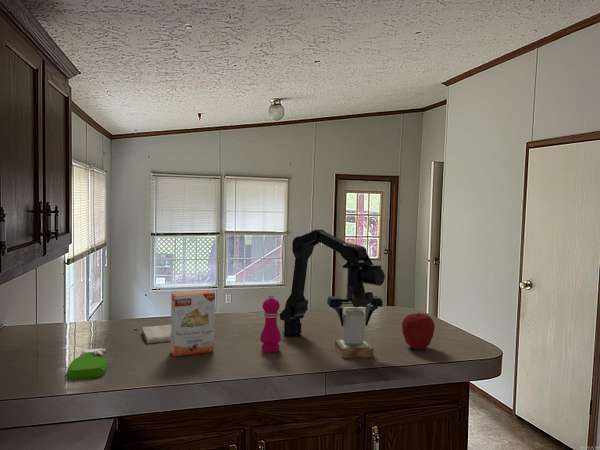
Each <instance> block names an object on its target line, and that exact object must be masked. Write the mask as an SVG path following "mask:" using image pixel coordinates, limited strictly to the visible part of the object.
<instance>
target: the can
mask: <svg viewBox="0 0 600 450" xmlns="http://www.w3.org/2000/svg"><path fill="white" fill-rule="evenodd" d="M344 310H345V311H344V312H343V326H342V340H343V341H344V342H345V343H346V344H349V345H360V344H362V343H363V342H364V339H365V327H366V325H365V313H364V311H363V309H362V308H361V307H347V308H345V309H344Z"/></svg>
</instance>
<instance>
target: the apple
mask: <svg viewBox="0 0 600 450" xmlns="http://www.w3.org/2000/svg"><path fill="white" fill-rule="evenodd" d="M401 328H402V330H401V331H402V335H403V338H404V340H405V343H406V344H407V345H408V346H409V347H411V348H412V349H415V350H419V351H420V350H425V349H426V348H427V347H428V346H430V344H431V342H432V339H433V337H434V334H435V328H436V327H435V322H434V319H432V317H430V315H429V314H426V313H420V312H419V311H418V313H410V314H408V315H406V316H405V317H404V318H403V319H402V323H401Z"/></svg>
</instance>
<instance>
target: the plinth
mask: <svg viewBox="0 0 600 450" xmlns="http://www.w3.org/2000/svg"><path fill="white" fill-rule="evenodd" d="M334 350H336V352H337V353H338V354H339V355H340V357H341V358H342V359H344V358H345V359H347V358H348V359H349V358H350V359H351V358H354V359H355V358H374V347H373V346H372V345H371V344H370V343H369V342H368V341H367V340H366V339H365V338H364V342H363V343H362V344H360V345H349V344H346V343H345V342H344V341H343V339H335V340H334Z"/></svg>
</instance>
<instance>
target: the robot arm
mask: <svg viewBox="0 0 600 450" xmlns="http://www.w3.org/2000/svg"><path fill="white" fill-rule="evenodd" d="M319 244H322V245H324V246H325V247H328V248H330V249H331V250H333V251H334V252H335V251H336V252H338V253H339V254H340V256H341V258H342V259H344V260H345V261H346V262H345V264H343V265H342V269H347V276H346V277H347V280H346V281H347V282H346V298H341V297H340V296H338V295H337V296H333V295H332V296H328V297H327V301H326V303H327V305H328V307H330V308H332V309H334V310H335V312H336V314H337V316H338V320H339V323H340V326H341V327H343V313H344V312H343V311H344V308H343V307H342V305H352V307H353V308H365V309H364V310H365V313H364V314H365V327H367V326H368V324H369V322H370V320H371V317H372V314H373V313H374V311H376V310H378V309H379V308H382V307H384V306H383V305H384V304H383V303H384V300H383V299H382V298H381V297H379V296H377V295H374V294H373V292H372V291H367V292H366V291H365V285H364V284H367V285H372V286H378V287H380V286H382V285H383V284H384V282H385V272H384V270H383V269H382V265H379V264H378V265H377V264H376V265H375V264H373V261H372V259H371V258H370V256H369V254H368V251H367V249H366V247H365V246H363V245H359V244H356V243H349V242H347V241H344V240H342V239H341V238H338V237H337V236H334V235H332V234H330V233H329V232H327V231H325V230H324V229H313V230H311V231H310V232H308V233H305V234H303V235H300V236H296V237H294V238H293V240H292V248H291V249H292V251H291V252H292V254H293V256H294V258H295V259H294V266H293V275H292V285H291V291H290V295H289V296H288V298H287V300H286V302H285V306H284V309H283V310H282V311H281V312H280V313H278V317H279V320H281V321H283V322H282V323H283V327H282V328H283V330H282V335H283V337H301V336H302V322H301V319H304V317H305V314H306V313H307V311H308V310H309V308H308V305H309V300H308V299H306V298H305V286H306V280H307V279H306V278H307V272H308V271H307V269H308V262H309V258H310V257H311V256H312V254H313V253H314V252H313V251H314V250H315V249H314V248H315V246H317V245H319Z"/></svg>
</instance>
